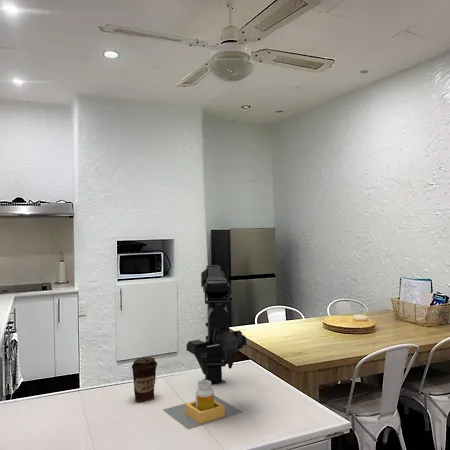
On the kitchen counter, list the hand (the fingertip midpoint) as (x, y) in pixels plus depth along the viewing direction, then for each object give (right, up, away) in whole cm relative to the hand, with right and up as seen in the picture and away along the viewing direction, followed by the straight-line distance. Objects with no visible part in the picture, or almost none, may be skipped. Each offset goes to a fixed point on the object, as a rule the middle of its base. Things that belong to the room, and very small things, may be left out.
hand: (217, 371), depth 127 cm
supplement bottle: (-4, -12, -4) cm, 13 cm away
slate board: (-5, -12, -1) cm, 13 cm away
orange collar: (-4, -12, -4) cm, 13 cm away
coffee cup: (-24, -13, +10) cm, 29 cm away
